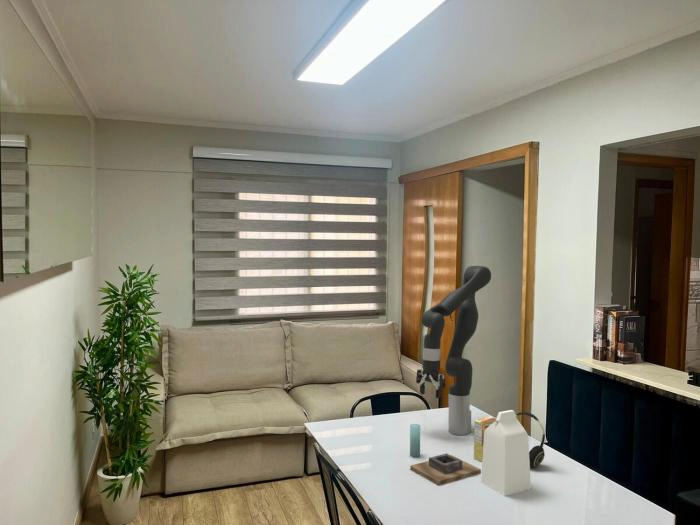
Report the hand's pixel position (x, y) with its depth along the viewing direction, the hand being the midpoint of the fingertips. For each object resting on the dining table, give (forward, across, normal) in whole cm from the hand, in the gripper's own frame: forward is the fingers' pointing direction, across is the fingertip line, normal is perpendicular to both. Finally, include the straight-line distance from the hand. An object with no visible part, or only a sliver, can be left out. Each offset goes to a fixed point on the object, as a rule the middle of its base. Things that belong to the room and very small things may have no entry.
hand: (429, 396), depth 240 cm
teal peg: (+19, -9, +19) cm, 29 cm away
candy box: (+18, -29, 0) cm, 34 cm away
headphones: (+18, -43, -6) cm, 47 cm away
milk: (+19, -48, +16) cm, 55 cm away
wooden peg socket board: (+19, -27, +22) cm, 40 cm away
